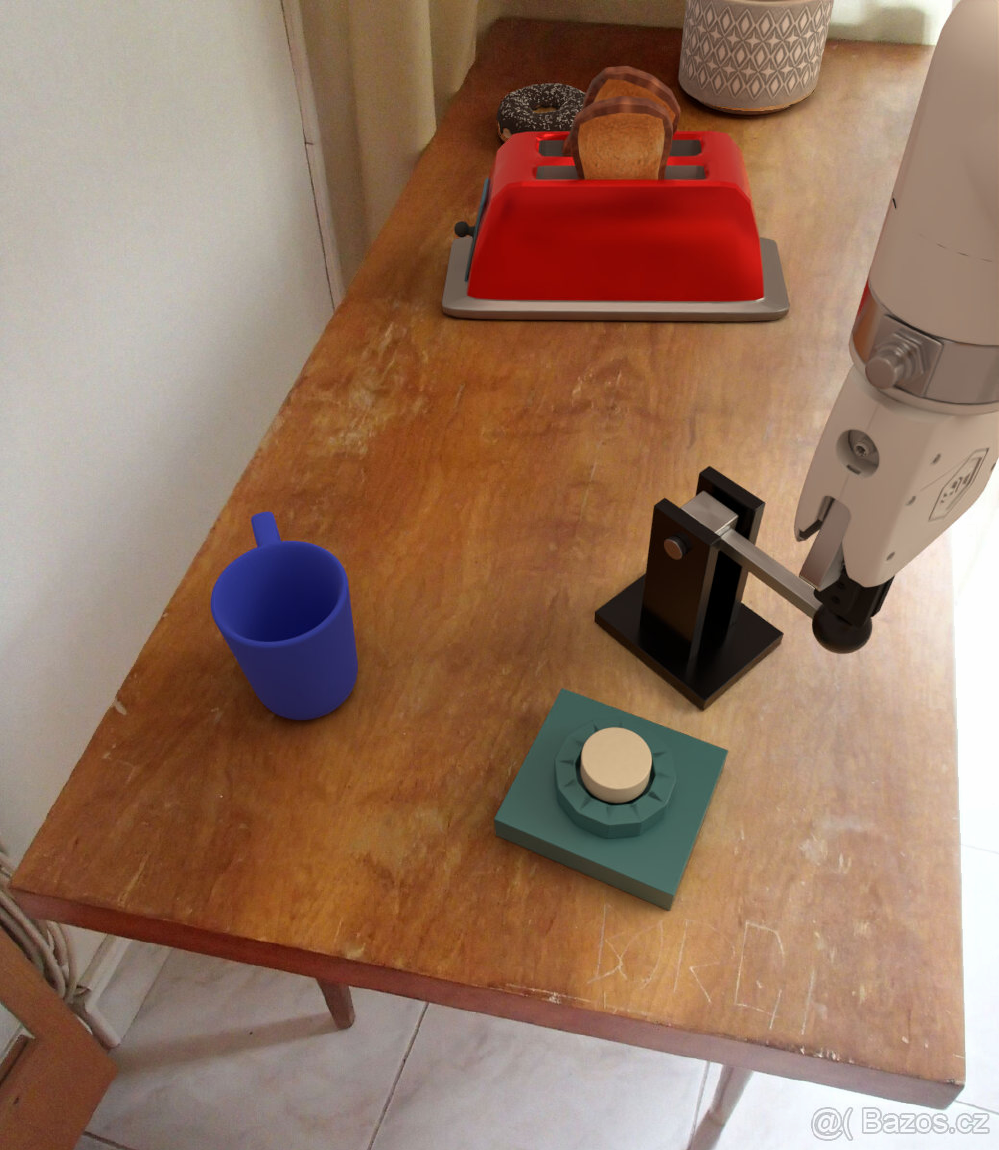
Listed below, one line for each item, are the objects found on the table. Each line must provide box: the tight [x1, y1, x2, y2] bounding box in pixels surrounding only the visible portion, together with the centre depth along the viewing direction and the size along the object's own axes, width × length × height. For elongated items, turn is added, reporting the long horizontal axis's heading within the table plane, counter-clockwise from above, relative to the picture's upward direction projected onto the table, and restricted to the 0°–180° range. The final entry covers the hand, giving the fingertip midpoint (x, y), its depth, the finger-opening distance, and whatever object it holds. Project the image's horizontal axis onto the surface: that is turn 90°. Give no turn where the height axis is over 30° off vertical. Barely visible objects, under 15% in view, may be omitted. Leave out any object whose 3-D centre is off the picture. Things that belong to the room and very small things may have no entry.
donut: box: [495, 82, 586, 143], centre depth 113 cm, size 11×12×4 cm
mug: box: [210, 511, 359, 721], centre depth 64 cm, size 8×12×10 cm
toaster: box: [441, 65, 791, 322], centre depth 88 cm, size 32×13×19 cm, turn 86°
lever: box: [679, 491, 874, 655], centre depth 57 cm, size 13×3×3 cm, turn 41°
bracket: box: [593, 465, 785, 712], centre depth 63 cm, size 10×8×13 cm
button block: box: [493, 687, 729, 911], centre depth 59 cm, size 11×10×4 cm
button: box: [581, 727, 652, 803], centre depth 57 cm, size 4×4×2 cm
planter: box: [677, 0, 835, 116], centre depth 115 cm, size 16×16×13 cm
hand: (845, 604), depth 54 cm, fingers closed
